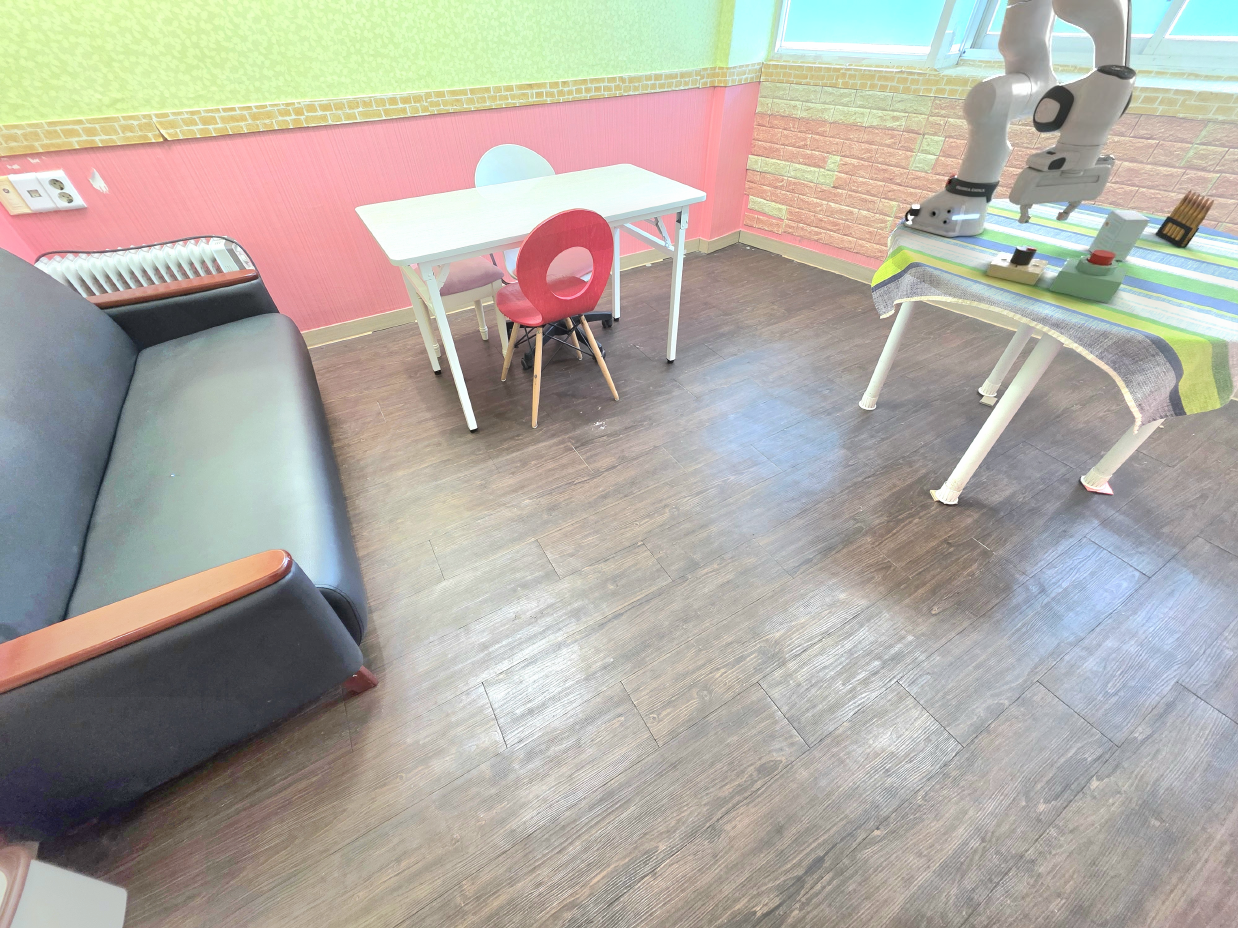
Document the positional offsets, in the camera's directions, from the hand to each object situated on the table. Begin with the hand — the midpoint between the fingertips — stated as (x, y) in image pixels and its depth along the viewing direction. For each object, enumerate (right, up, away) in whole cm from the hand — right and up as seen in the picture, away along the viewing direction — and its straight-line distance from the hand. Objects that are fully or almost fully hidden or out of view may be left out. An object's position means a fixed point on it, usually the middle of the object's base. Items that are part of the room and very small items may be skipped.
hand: (1041, 221), depth 122 cm
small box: (+31, -2, +15) cm, 34 cm away
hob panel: (+1, -9, +9) cm, 13 cm away
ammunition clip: (+54, +4, +20) cm, 58 cm away
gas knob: (+1, -7, +7) cm, 10 cm away
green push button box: (+11, -16, +1) cm, 20 cm away
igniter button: (+11, -12, -3) cm, 16 cm away
